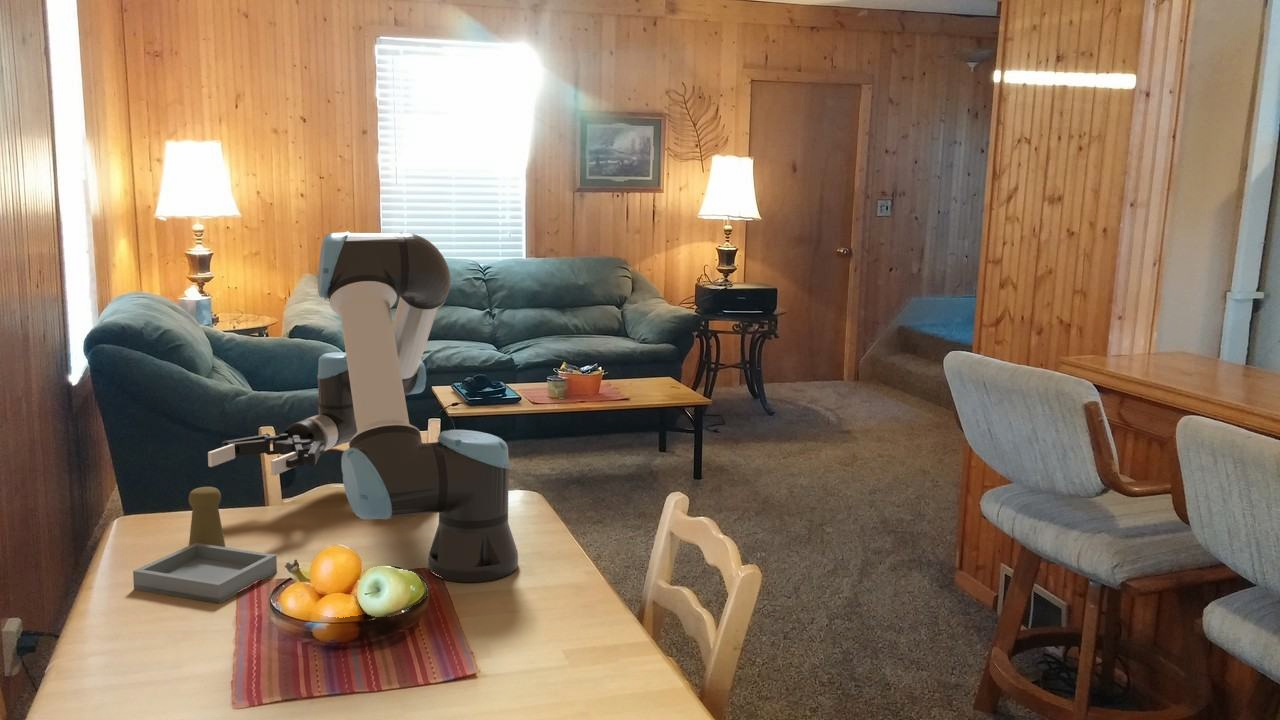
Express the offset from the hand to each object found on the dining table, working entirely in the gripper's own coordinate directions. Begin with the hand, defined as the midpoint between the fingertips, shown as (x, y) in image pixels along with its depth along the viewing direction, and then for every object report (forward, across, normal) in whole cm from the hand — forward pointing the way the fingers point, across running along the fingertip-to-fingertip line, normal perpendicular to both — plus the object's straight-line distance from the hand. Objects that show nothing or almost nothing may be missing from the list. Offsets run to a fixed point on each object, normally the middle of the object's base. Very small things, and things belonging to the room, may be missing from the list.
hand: (240, 463), depth 185 cm
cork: (+10, 0, -13) cm, 16 cm away
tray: (+22, -10, -12) cm, 28 cm away
